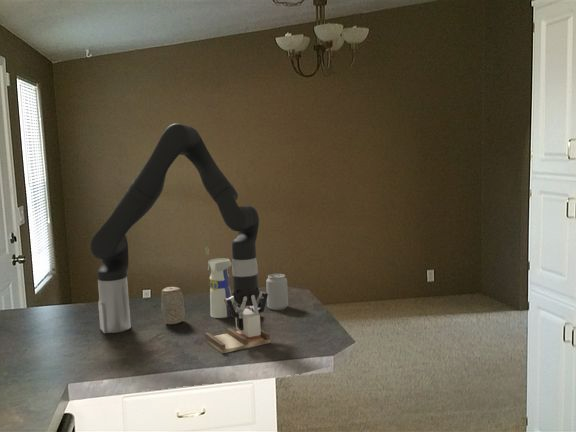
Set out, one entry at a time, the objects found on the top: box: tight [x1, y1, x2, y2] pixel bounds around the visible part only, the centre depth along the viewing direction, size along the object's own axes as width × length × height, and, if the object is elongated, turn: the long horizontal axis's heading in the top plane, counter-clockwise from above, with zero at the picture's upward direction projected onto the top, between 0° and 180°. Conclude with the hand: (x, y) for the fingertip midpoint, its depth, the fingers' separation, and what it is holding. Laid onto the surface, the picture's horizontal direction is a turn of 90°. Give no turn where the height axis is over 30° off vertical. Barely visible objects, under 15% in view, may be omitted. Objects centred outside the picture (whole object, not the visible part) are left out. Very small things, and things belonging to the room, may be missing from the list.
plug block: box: [235, 308, 262, 337], centre depth 178 cm, size 9×4×6 cm, turn 29°
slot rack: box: [204, 327, 271, 354], centre depth 177 cm, size 16×13×2 cm
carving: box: [160, 286, 186, 325], centre depth 198 cm, size 6×8×12 cm
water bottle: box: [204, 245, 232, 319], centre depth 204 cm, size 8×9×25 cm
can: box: [265, 273, 289, 311], centre depth 211 cm, size 8×8×12 cm
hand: (247, 327), depth 178 cm, fingers closed on plug block, 4 cm apart
